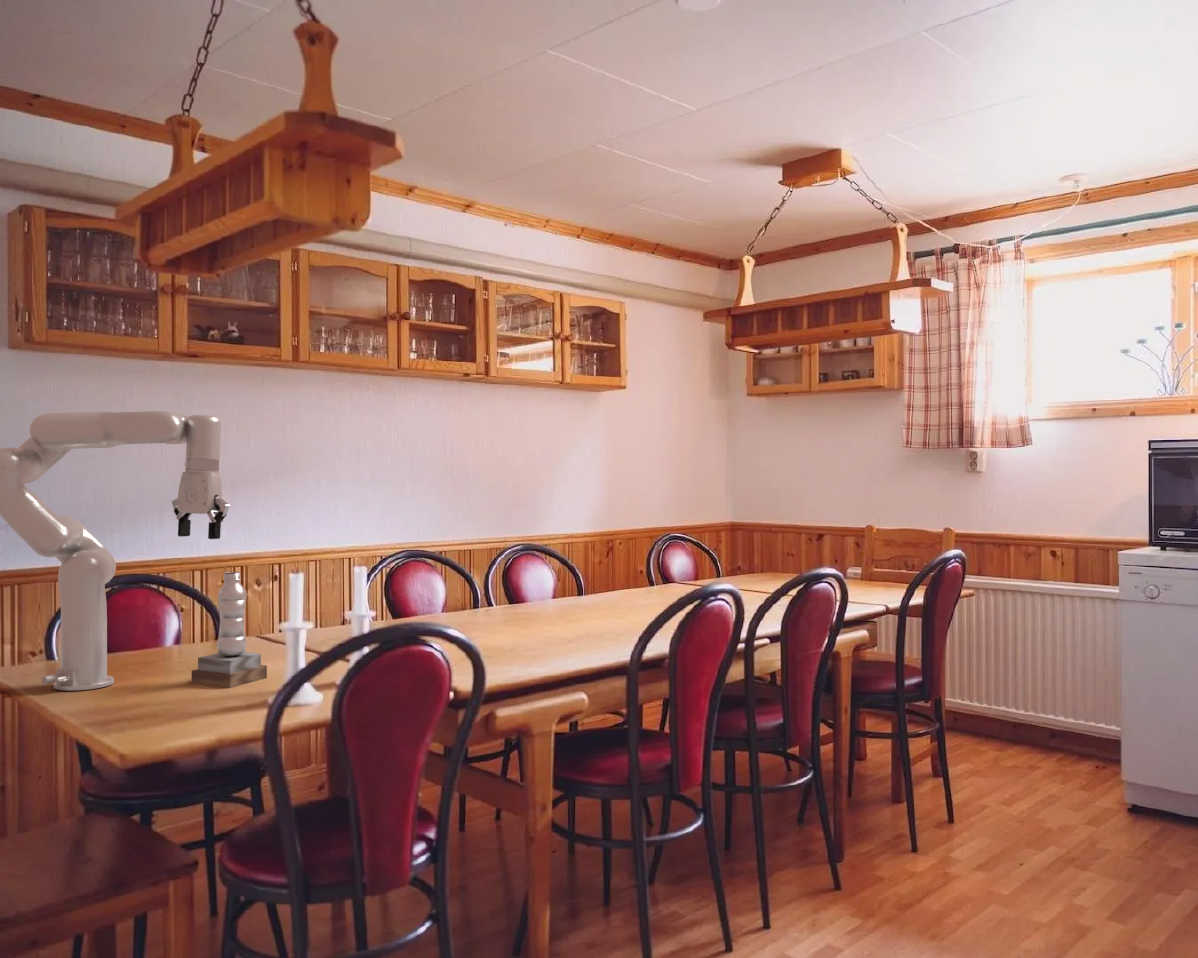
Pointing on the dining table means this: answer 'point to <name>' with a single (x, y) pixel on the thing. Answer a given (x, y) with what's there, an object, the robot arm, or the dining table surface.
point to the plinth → (229, 677)
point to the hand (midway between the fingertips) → (198, 537)
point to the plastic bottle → (231, 616)
